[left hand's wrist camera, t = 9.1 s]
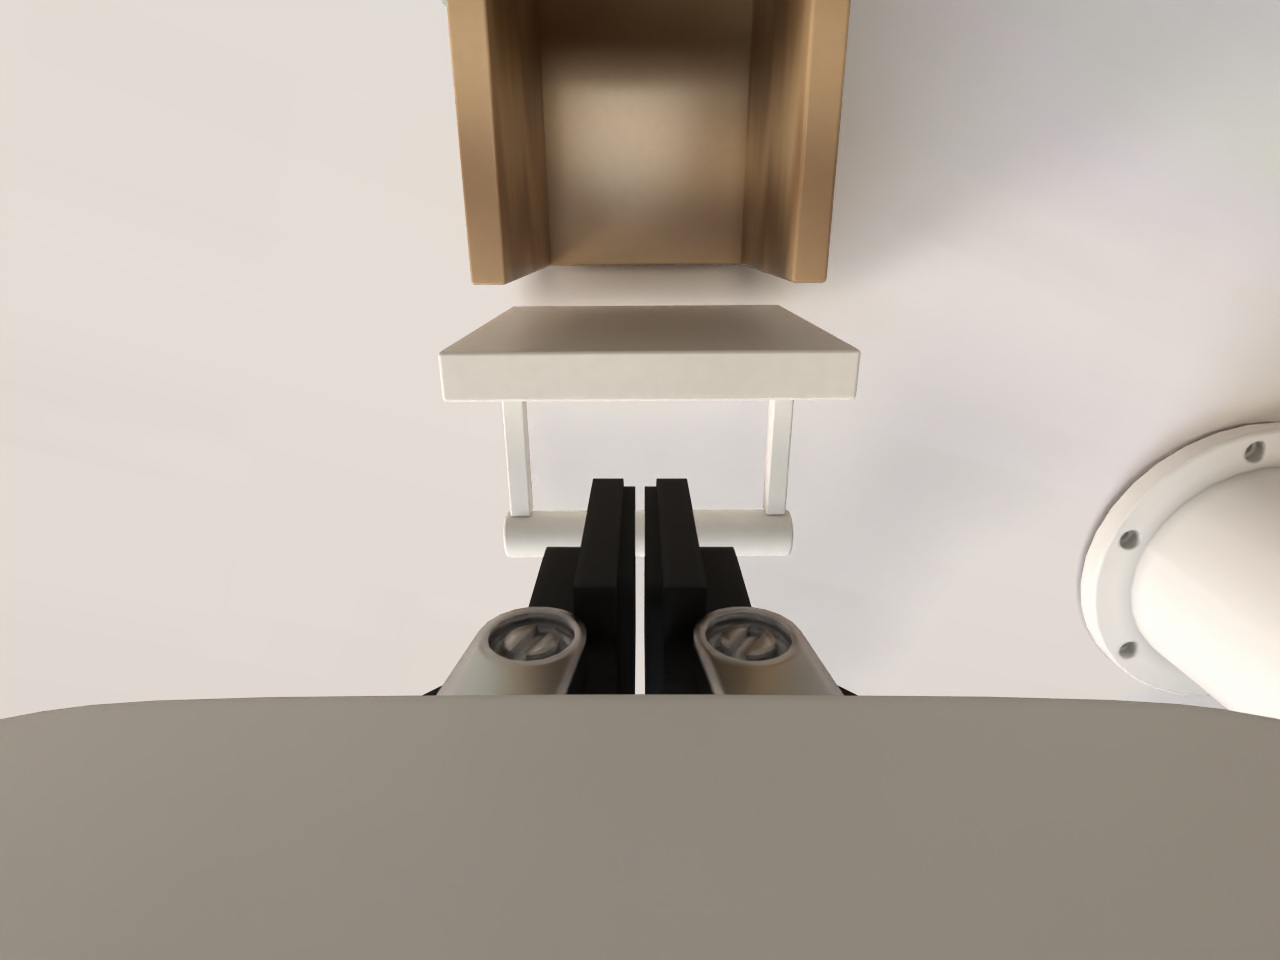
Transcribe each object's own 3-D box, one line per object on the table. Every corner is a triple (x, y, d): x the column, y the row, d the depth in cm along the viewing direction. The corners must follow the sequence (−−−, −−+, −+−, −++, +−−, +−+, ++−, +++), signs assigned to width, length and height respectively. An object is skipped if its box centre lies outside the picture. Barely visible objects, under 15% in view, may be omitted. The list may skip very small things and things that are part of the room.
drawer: (768, 481, 27) (833, 609, 18) (523, 482, 27) (465, 611, 18) (810, -170, 20) (954, -506, 11) (478, -168, 20) (342, -501, 11)
